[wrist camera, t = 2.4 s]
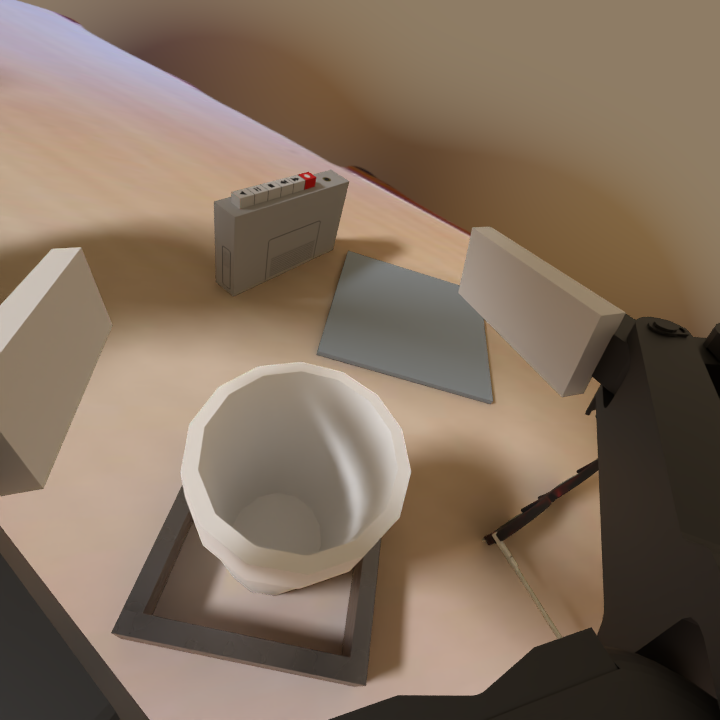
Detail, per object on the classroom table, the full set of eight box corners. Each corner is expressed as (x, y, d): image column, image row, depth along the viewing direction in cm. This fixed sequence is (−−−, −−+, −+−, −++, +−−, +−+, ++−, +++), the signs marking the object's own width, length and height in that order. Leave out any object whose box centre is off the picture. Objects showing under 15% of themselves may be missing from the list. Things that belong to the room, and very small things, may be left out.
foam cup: (248, 453, 29) (259, 335, 20) (361, 503, 29) (427, 408, 19) (165, 587, 23) (123, 507, 13) (310, 654, 22) (373, 621, 13)
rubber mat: (316, 354, 37) (317, 351, 37) (347, 254, 49) (348, 250, 49) (490, 403, 39) (493, 401, 38) (478, 294, 51) (480, 291, 51)
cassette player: (317, 239, 50) (332, 160, 43) (332, 250, 49) (351, 172, 42) (216, 282, 40) (213, 190, 33) (233, 297, 39) (235, 206, 32)
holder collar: (121, 638, 21) (111, 633, 19) (216, 432, 30) (216, 415, 28) (354, 686, 22) (365, 685, 20) (379, 474, 31) (388, 460, 29)
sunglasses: (564, 475, 36) (605, 453, 32) (715, 665, 29) (789, 666, 25) (461, 548, 29) (498, 531, 25) (626, 820, 22) (711, 852, 19)
